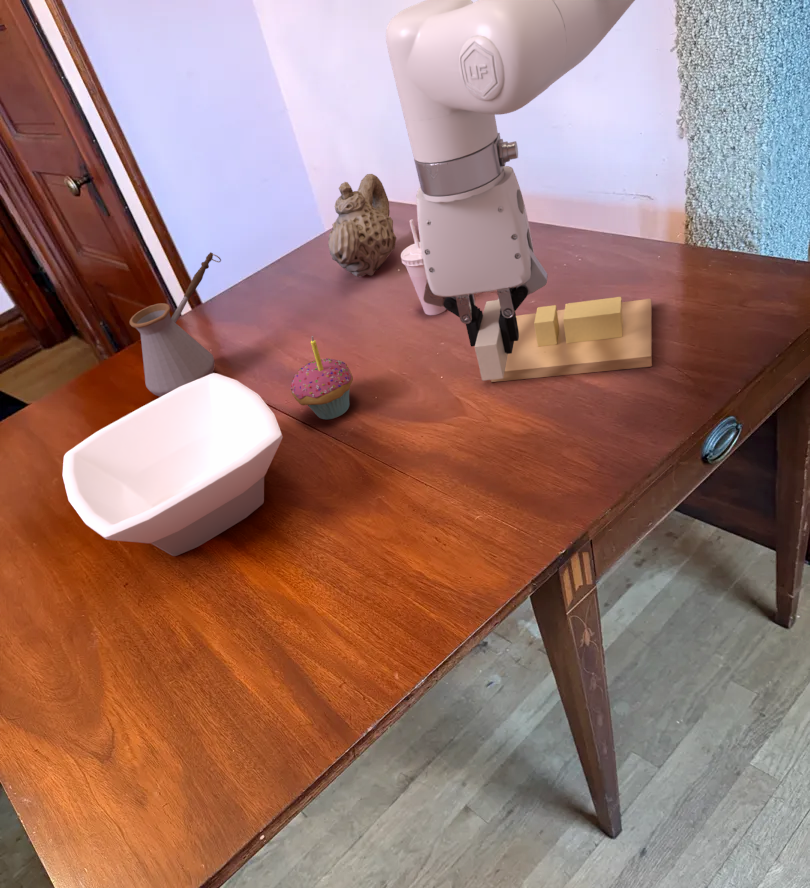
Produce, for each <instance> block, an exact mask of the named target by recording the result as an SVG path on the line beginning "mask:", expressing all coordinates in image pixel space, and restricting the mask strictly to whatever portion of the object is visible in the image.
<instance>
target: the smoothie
mask: <svg viewBox="0 0 810 888" xmlns="http://www.w3.org/2000/svg"><path fill="white" fill-rule="evenodd" d="M408 222H409V226H410V229H411V232H412V237H413V241H414V243H412V244H410V245H409V246H407V247H406V248H404V249H403V250H402V251H401V252H400V260H401V264H403V265H404V266H405V268H406V270H407V273H408V275H409V278H410V281H411V282H412V286H413V287H414V290H415V292H416V295H417V298H418V300H419V302H420V305H421V308H422V309H423V312H424V314H425V315H427V316H437V315H439V314H442V313H444V312H445V311H446V310H447V309H446V308H445V307H443V306H441V307H440V306H436V305H432V304H428V303H426V302H425V301H424V299H423V298H424V292H425V287H426V281H427V276H426V272H425V267H424V262H423V256H422V250H421V243H420V241H419V239H418V234H417V230H416V227H415V223H414V219H413V218H412V219H409V221H408Z"/></svg>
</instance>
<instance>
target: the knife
mask: <svg viewBox="0 0 810 888" xmlns="http://www.w3.org/2000/svg"><path fill="white" fill-rule="evenodd" d="M500 309H501V307H500V302H499V297H497V299H494V300H489V301H488V300H487V301H485V305H484V308H483V311H482V313H483V318H482V322H481V326H480V329H479V332H478V336H477V340H476V344H475V346H474V351H475V355H476V359H477V364H478V368H479V373H480V378H481V381H483V382H484V381H491V380H493V379H502V378H503V377H504V372H505V367H506V362H507V357H508V354H506V353H505V351H504V346H503V341H502V336H501V330H500V328H499V316H500Z"/></svg>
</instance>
